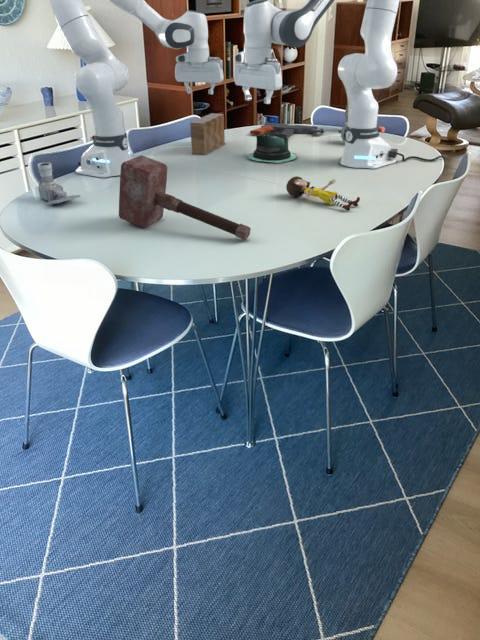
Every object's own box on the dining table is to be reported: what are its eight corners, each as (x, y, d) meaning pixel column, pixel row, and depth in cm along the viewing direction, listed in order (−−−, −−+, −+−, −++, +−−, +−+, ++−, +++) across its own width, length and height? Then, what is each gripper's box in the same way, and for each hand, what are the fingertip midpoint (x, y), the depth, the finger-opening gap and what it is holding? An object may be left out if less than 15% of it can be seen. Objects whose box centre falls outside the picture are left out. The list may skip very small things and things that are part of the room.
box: (204, 154, 235) (203, 123, 229) (192, 153, 237) (190, 122, 231) (224, 143, 252) (223, 113, 246) (212, 142, 254) (211, 113, 248)
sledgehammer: (261, 199, 150) (139, 153, 161) (245, 210, 142) (119, 161, 154) (249, 254, 160) (136, 207, 171) (234, 267, 153) (116, 217, 164)
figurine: (345, 200, 166) (278, 176, 178) (341, 223, 170) (275, 198, 182) (367, 189, 174) (301, 166, 186) (362, 211, 179) (298, 188, 191)
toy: (345, 120, 249) (377, 123, 242) (343, 139, 253) (375, 143, 246) (337, 123, 243) (369, 127, 236) (336, 143, 247) (367, 147, 240)
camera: (50, 159, 186) (76, 167, 177) (57, 193, 192) (81, 203, 184) (27, 164, 181) (51, 173, 172) (34, 199, 187) (58, 209, 178)
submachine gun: (243, 132, 260) (267, 122, 278) (243, 138, 261) (267, 127, 280) (305, 138, 246) (326, 127, 265) (305, 144, 248) (326, 133, 266)
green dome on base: (302, 149, 235) (294, 163, 219) (265, 168, 244) (254, 183, 227) (286, 117, 230) (276, 128, 213) (248, 137, 238) (236, 150, 222)
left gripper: (225, 56, 221) (226, 93, 228) (178, 55, 227) (181, 92, 234) (219, 57, 216) (220, 95, 223) (172, 57, 222) (174, 94, 229)
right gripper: (287, 58, 175) (286, 104, 182) (244, 54, 189) (245, 97, 196) (272, 59, 172) (272, 106, 179) (230, 55, 185) (231, 99, 192)
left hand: (200, 93), depth 228 cm, fingers open, 8 cm apart
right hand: (257, 102), depth 187 cm, fingers open, 8 cm apart
